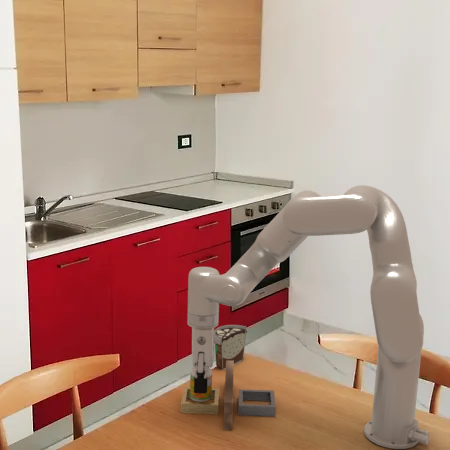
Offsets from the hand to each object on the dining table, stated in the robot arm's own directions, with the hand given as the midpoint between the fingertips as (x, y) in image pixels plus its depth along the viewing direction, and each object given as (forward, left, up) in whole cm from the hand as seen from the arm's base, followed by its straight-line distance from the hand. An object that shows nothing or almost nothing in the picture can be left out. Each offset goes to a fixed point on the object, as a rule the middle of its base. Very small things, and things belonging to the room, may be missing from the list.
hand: (201, 386), depth 176 cm
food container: (+13, -24, -5) cm, 28 cm away
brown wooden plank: (-5, -4, -5) cm, 9 cm away
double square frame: (-5, -4, -5) cm, 9 cm away
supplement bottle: (0, 0, -3) cm, 3 cm away
